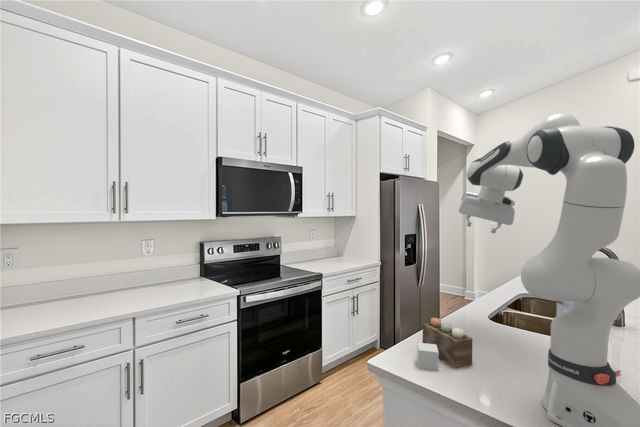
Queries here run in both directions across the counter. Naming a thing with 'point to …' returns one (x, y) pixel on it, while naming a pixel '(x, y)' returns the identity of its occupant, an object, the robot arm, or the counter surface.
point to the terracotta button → (436, 322)
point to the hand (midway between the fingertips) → (480, 229)
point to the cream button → (457, 333)
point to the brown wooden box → (449, 346)
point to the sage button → (446, 327)
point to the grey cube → (427, 356)
